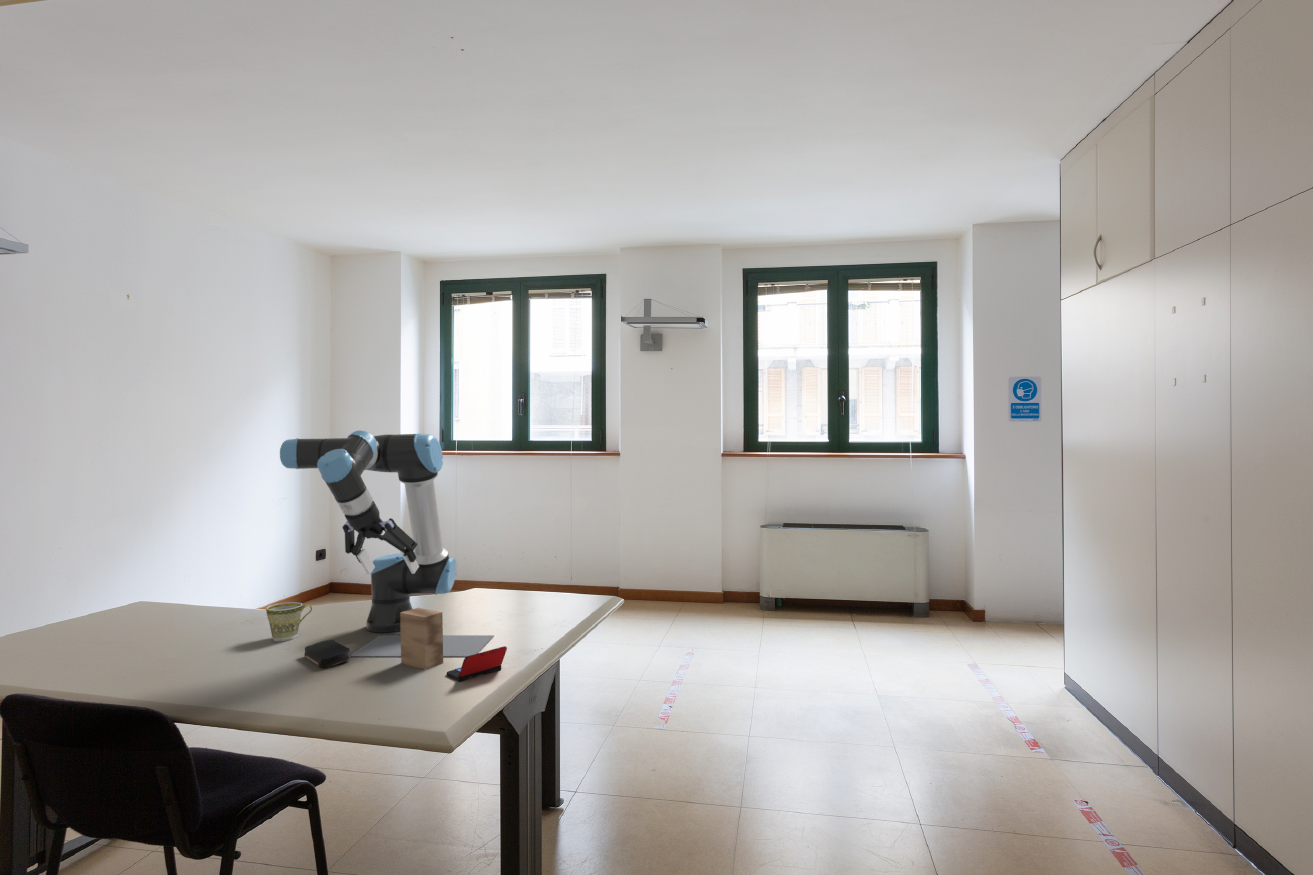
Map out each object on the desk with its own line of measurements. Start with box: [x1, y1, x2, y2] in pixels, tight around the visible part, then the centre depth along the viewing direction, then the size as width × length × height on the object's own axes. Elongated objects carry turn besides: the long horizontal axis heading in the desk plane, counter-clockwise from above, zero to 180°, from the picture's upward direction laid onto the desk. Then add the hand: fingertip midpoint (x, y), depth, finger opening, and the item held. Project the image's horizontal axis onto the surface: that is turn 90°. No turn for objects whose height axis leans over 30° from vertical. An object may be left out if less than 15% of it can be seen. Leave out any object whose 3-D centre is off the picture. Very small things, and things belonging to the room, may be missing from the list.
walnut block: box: [400, 607, 444, 670], centre depth 198 cm, size 6×10×14 cm, turn 57°
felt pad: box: [351, 634, 495, 658], centre depth 213 cm, size 20×36×1 cm, turn 87°
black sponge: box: [304, 639, 352, 669], centre depth 202 cm, size 16×8×4 cm, turn 43°
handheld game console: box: [446, 645, 508, 683], centre depth 188 cm, size 12×11×7 cm
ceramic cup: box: [265, 601, 313, 642], centre depth 224 cm, size 13×10×10 cm
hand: (393, 570), depth 189 cm, fingers open, 13 cm apart
